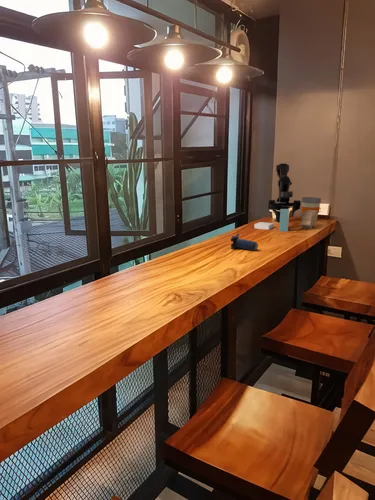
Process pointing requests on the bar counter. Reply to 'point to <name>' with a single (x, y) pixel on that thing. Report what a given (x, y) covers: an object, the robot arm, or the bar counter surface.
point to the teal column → (284, 219)
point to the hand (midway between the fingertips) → (284, 215)
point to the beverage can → (243, 243)
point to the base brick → (264, 225)
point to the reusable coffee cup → (311, 204)
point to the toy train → (309, 219)
